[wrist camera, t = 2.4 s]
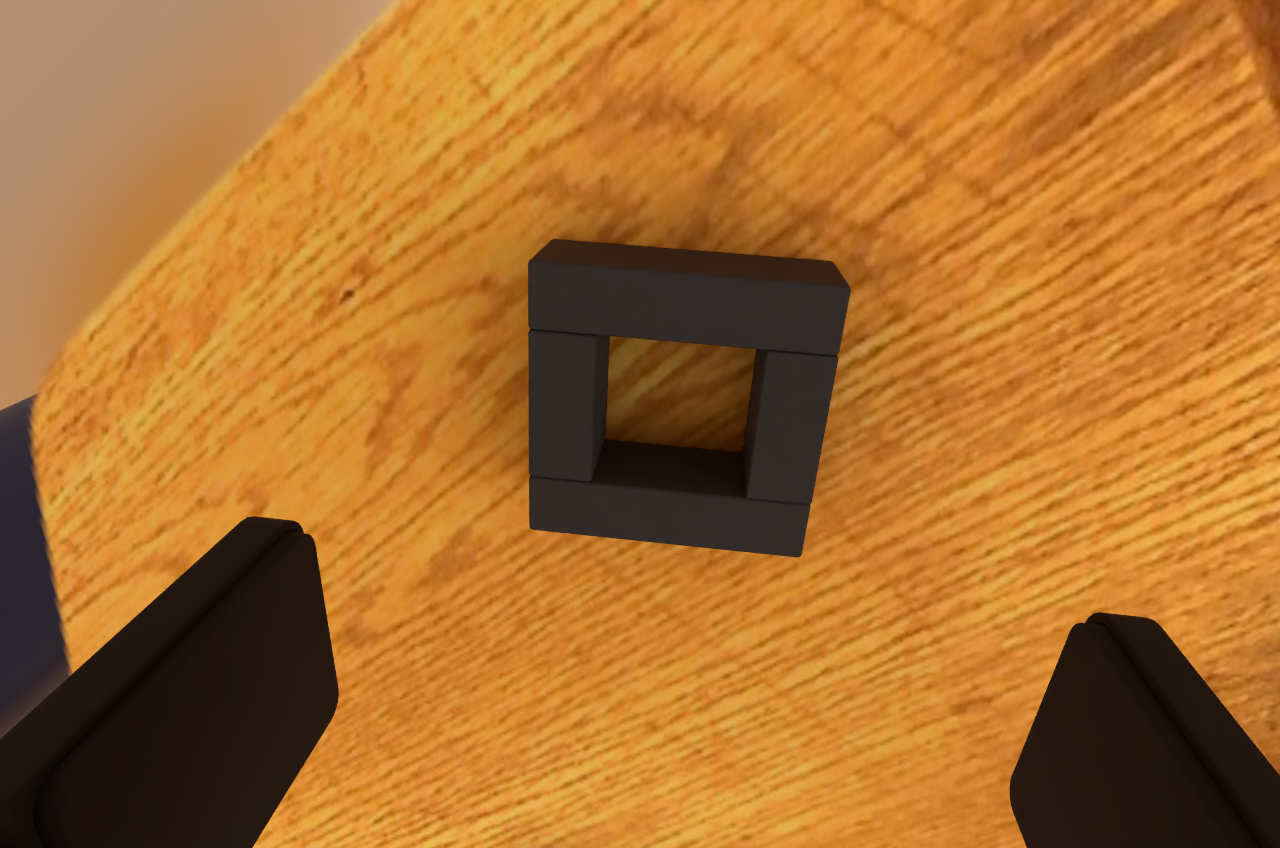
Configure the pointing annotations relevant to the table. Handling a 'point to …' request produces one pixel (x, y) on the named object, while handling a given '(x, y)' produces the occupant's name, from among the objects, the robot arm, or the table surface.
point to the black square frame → (692, 313)
